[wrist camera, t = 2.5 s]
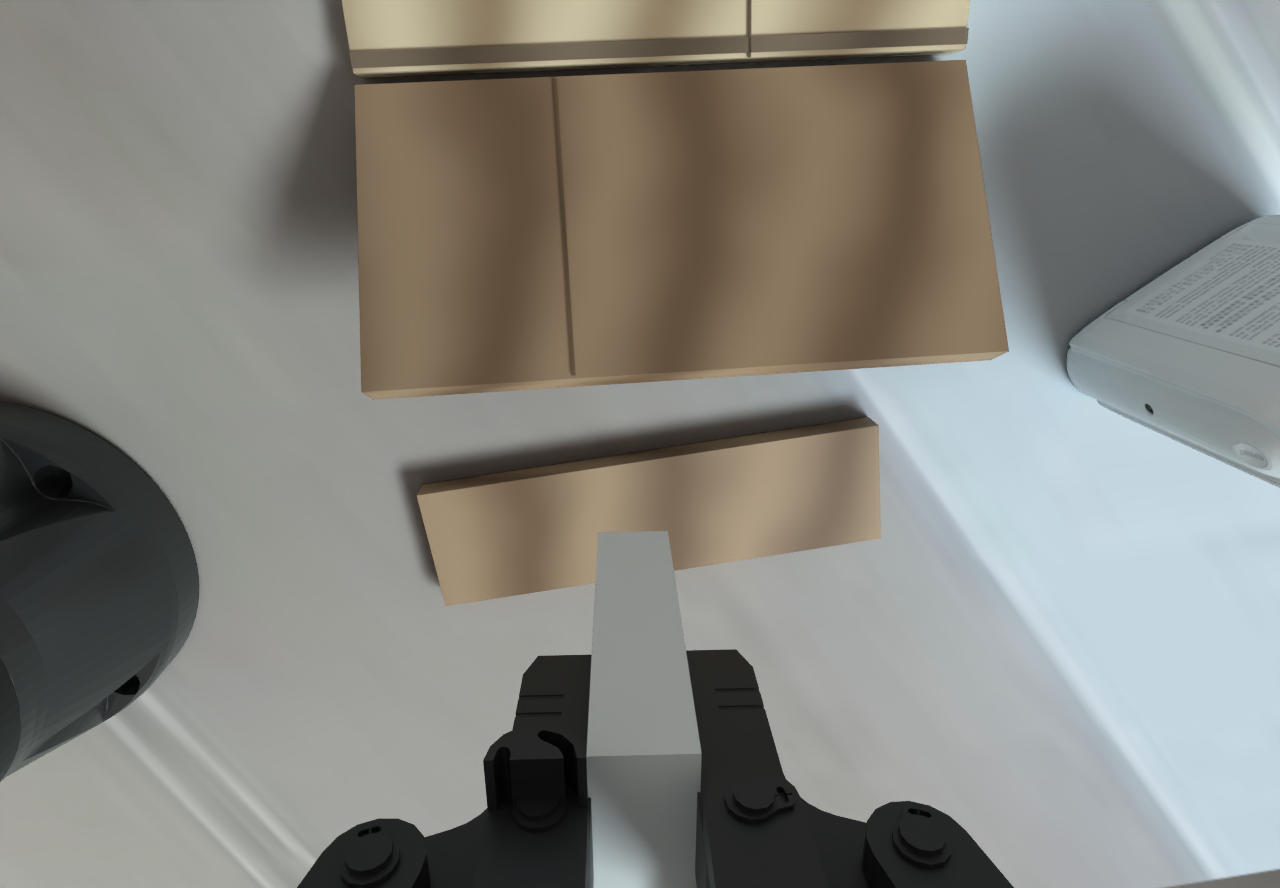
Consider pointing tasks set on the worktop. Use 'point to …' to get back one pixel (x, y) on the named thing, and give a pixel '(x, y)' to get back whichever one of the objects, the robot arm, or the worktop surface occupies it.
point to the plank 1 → (670, 227)
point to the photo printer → (1198, 352)
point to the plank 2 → (655, 508)
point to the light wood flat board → (637, 33)
